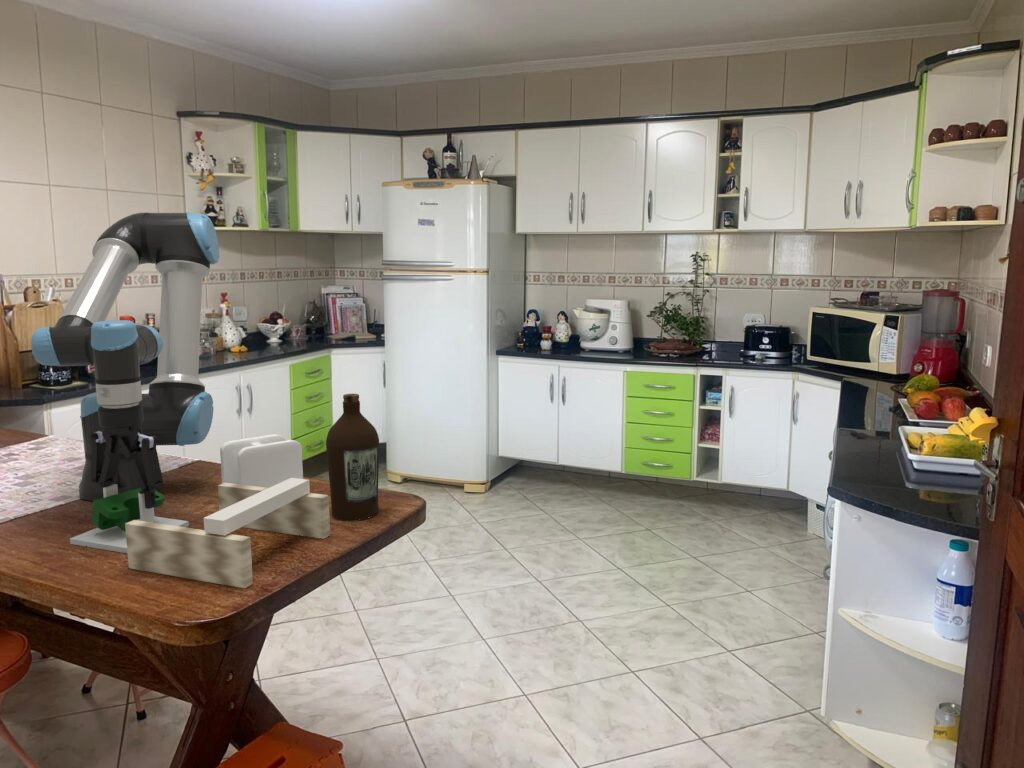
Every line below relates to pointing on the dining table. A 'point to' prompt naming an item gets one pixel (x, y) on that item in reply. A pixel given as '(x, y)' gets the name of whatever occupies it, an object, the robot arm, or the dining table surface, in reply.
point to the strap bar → (255, 506)
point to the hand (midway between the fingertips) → (130, 521)
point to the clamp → (119, 509)
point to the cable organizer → (261, 461)
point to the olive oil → (353, 463)
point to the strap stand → (221, 539)
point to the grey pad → (115, 536)
